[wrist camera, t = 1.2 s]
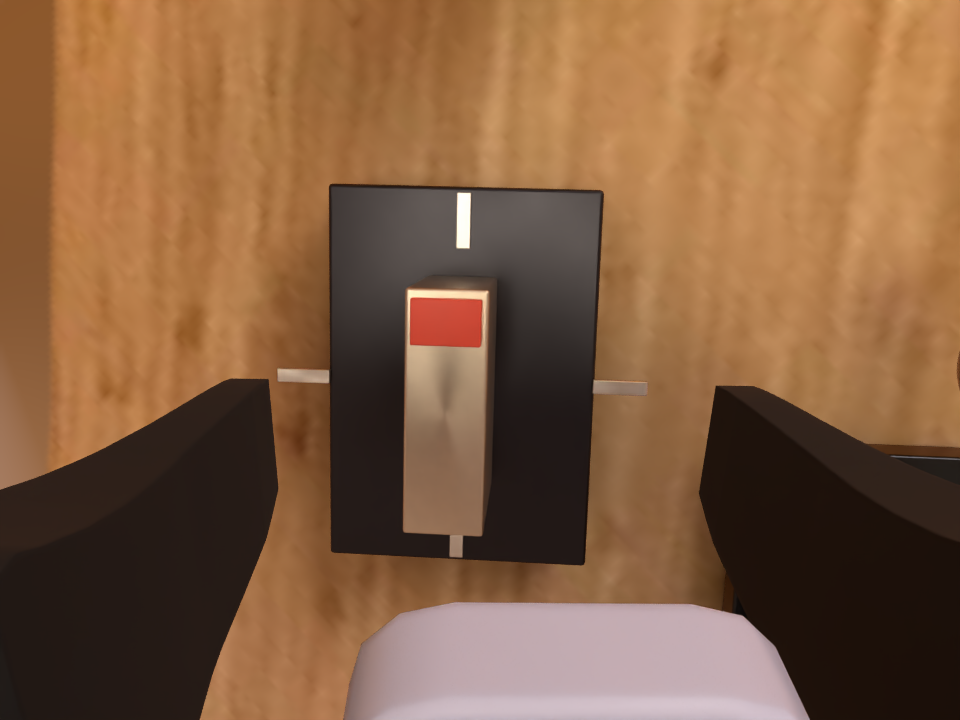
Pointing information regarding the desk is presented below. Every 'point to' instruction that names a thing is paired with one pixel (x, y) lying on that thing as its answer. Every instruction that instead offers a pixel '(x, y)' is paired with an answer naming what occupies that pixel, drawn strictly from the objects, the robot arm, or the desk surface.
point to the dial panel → (518, 360)
